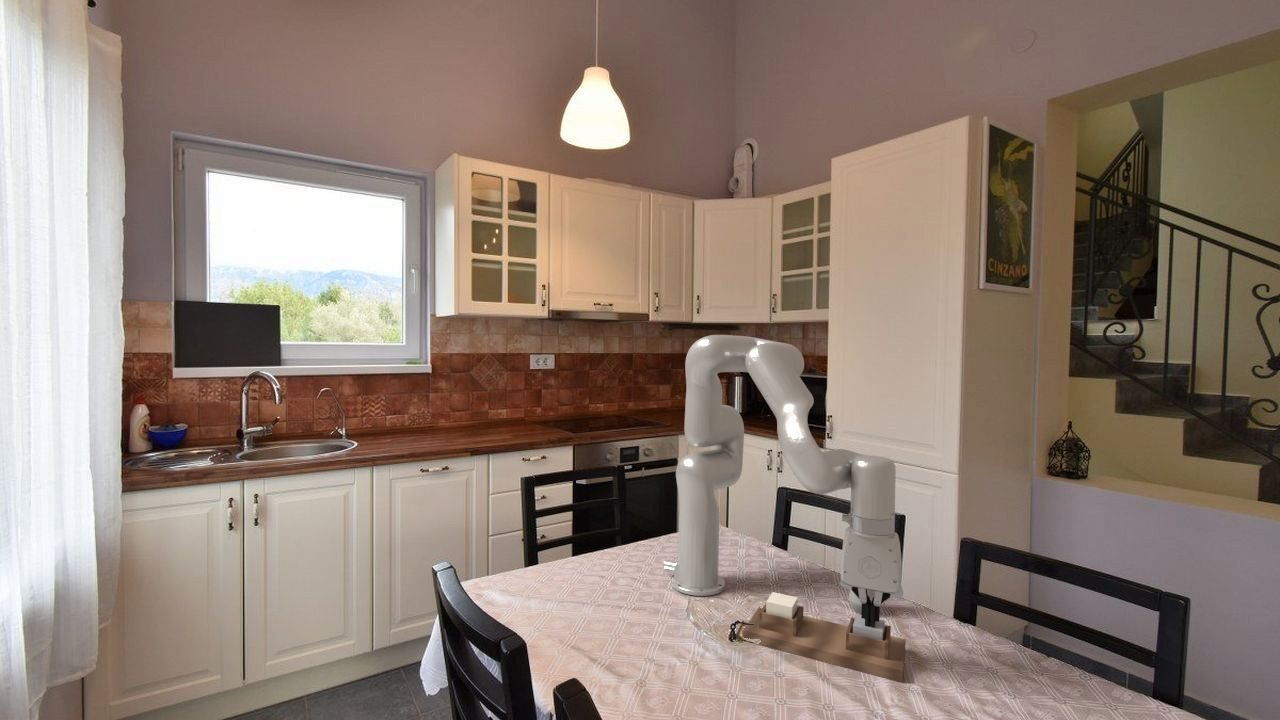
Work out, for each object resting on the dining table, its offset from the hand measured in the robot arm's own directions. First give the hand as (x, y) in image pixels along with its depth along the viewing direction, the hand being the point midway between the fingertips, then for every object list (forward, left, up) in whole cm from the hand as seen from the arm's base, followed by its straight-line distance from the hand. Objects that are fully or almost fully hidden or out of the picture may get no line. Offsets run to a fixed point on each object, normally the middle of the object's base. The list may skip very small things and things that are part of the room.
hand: (870, 623), depth 104 cm
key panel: (-8, 0, -6) cm, 10 cm away
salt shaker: (-3, +20, -7) cm, 21 cm away
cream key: (-16, 0, -2) cm, 16 cm away
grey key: (0, 0, -2) cm, 2 cm away
